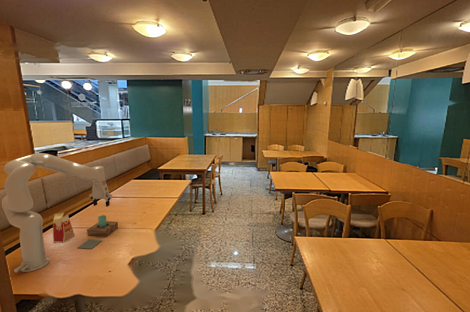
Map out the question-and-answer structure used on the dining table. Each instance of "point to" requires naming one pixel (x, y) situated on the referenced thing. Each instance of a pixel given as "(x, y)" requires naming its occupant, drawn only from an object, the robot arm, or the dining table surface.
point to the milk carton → (62, 228)
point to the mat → (89, 244)
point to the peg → (102, 221)
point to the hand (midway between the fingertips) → (101, 205)
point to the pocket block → (102, 229)
